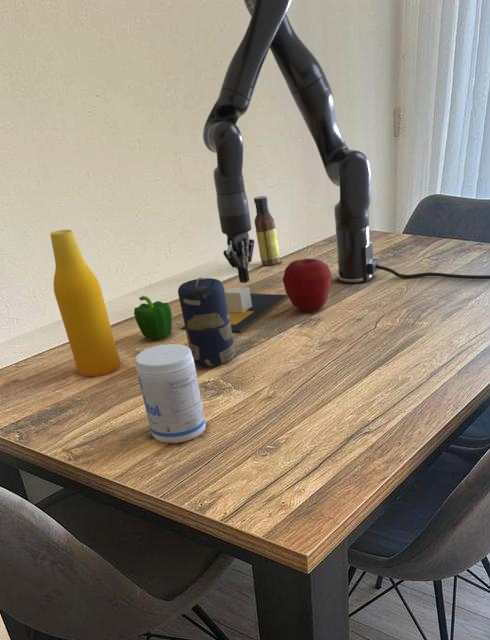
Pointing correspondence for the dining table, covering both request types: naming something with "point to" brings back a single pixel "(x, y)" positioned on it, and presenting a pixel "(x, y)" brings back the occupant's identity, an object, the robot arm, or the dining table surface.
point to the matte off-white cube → (238, 299)
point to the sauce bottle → (266, 233)
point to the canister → (207, 321)
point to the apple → (307, 284)
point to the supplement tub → (171, 393)
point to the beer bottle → (82, 309)
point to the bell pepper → (154, 319)
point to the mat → (253, 310)
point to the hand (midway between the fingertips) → (244, 281)
